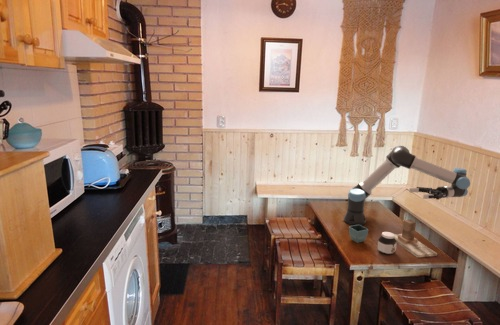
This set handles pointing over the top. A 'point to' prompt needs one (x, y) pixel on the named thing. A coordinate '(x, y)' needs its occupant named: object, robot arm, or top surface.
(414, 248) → the plywood board
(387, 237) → the spread jar
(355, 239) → the flower pot
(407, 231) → the block
